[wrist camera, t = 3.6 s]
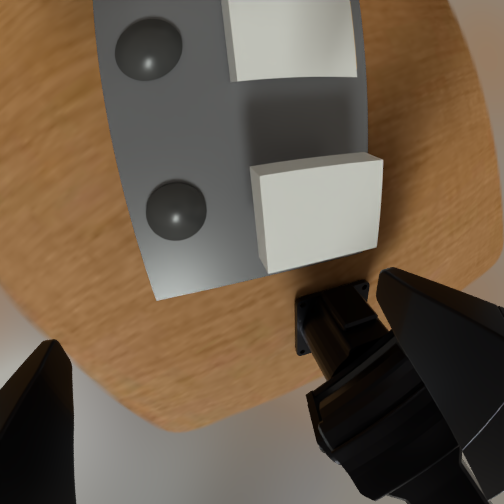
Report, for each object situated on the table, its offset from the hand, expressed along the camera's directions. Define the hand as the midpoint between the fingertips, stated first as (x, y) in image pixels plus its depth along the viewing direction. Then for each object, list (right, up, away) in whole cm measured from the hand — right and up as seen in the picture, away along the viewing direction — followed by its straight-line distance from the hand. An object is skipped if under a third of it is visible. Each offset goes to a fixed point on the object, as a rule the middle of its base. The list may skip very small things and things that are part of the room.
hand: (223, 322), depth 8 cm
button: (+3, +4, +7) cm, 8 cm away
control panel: (-1, +13, +7) cm, 14 cm away
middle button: (+2, +12, +4) cm, 13 cm away
